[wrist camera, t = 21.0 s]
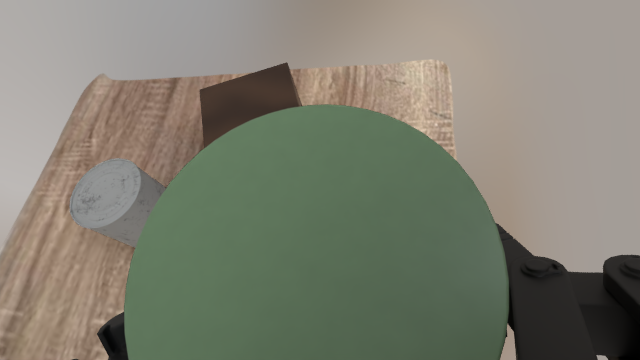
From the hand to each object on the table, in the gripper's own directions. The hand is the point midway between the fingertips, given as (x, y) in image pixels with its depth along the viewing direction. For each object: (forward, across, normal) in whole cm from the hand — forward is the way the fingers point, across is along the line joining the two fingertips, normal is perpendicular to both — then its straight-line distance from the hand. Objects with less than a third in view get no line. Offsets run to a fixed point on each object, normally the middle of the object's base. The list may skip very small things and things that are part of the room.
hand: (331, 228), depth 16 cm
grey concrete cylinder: (+34, -29, -9) cm, 45 cm away
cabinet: (+40, -10, -3) cm, 41 cm away
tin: (0, 0, -5) cm, 5 cm away
